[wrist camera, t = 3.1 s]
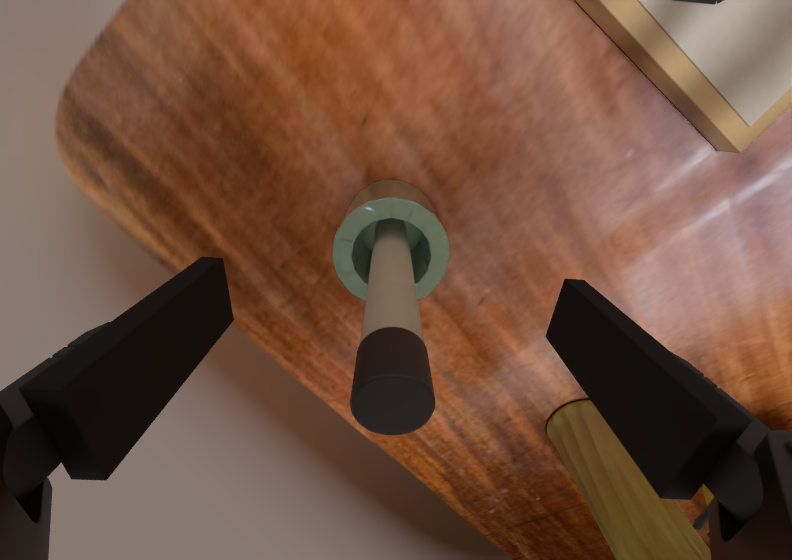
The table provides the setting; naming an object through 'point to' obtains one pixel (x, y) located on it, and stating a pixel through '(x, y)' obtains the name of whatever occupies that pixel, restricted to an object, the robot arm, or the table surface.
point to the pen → (392, 342)
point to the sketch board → (709, 59)
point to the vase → (620, 490)
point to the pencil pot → (360, 230)
